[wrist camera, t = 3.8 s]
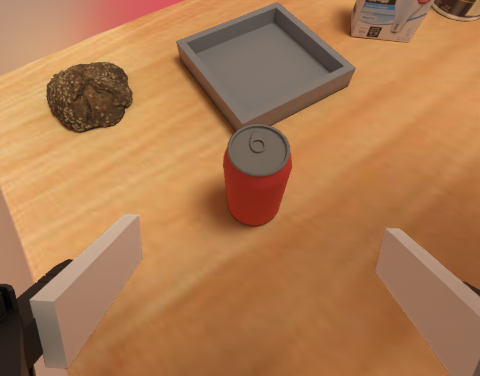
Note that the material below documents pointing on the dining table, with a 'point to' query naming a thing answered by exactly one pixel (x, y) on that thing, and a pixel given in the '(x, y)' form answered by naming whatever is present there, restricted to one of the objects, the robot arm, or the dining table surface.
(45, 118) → the dining table surface
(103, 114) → the bread roll
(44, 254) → the dining table surface
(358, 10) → the light bulb box
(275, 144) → the beer can
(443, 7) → the coffee can
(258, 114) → the tray
